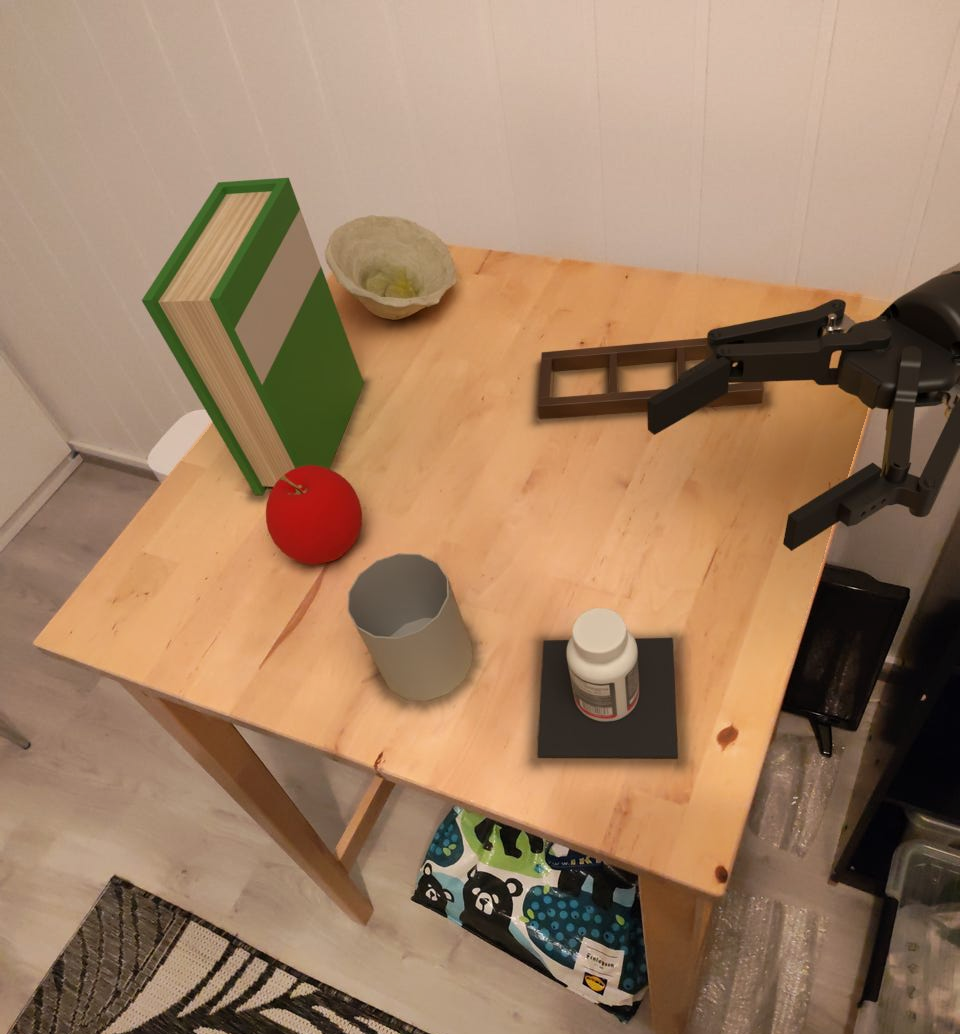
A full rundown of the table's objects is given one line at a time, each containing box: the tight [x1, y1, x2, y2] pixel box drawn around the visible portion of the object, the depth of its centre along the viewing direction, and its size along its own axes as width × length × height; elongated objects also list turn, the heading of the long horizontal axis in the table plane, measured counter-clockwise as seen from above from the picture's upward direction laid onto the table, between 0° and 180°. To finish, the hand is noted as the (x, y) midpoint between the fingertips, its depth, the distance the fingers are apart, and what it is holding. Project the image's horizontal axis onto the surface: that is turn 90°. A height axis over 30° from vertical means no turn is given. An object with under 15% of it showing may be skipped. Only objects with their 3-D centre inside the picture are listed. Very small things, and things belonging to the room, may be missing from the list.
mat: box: [536, 637, 679, 760], centre depth 69 cm, size 11×11×1 cm
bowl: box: [324, 214, 458, 321], centre depth 99 cm, size 15×14×10 cm
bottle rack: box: [537, 337, 765, 420], centre depth 88 cm, size 23×9×2 cm, turn 85°
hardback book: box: [141, 177, 365, 496], centre depth 83 cm, size 18×7×24 cm, turn 168°
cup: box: [346, 552, 473, 702], centre depth 70 cm, size 8×8×10 cm
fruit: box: [265, 465, 363, 565], centre depth 80 cm, size 9×9×10 cm
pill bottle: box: [567, 607, 639, 722], centre depth 65 cm, size 5×5×10 cm
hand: (714, 471), depth 54 cm, fingers open, 13 cm apart
